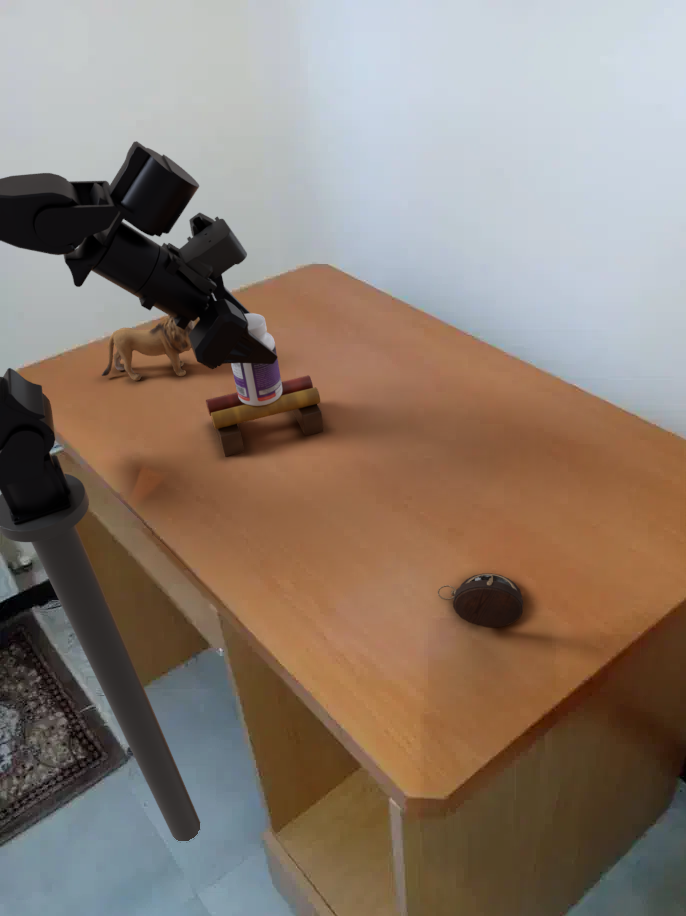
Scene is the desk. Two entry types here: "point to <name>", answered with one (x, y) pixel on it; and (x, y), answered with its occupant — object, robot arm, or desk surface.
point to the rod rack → (265, 412)
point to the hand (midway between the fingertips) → (264, 341)
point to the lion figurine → (150, 345)
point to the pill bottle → (258, 370)
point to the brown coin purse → (487, 600)
